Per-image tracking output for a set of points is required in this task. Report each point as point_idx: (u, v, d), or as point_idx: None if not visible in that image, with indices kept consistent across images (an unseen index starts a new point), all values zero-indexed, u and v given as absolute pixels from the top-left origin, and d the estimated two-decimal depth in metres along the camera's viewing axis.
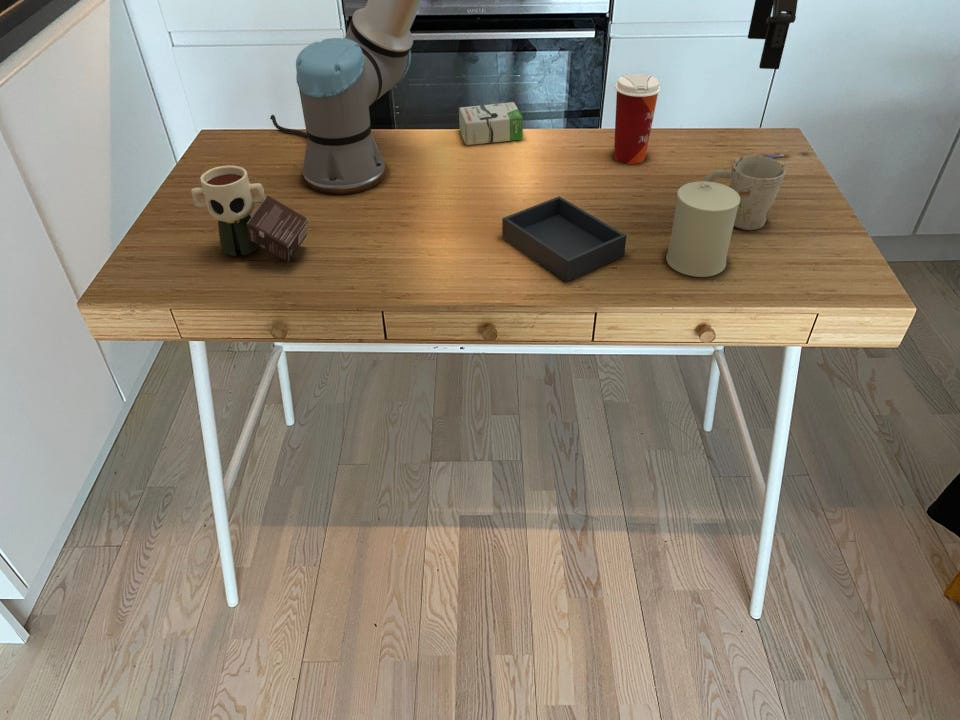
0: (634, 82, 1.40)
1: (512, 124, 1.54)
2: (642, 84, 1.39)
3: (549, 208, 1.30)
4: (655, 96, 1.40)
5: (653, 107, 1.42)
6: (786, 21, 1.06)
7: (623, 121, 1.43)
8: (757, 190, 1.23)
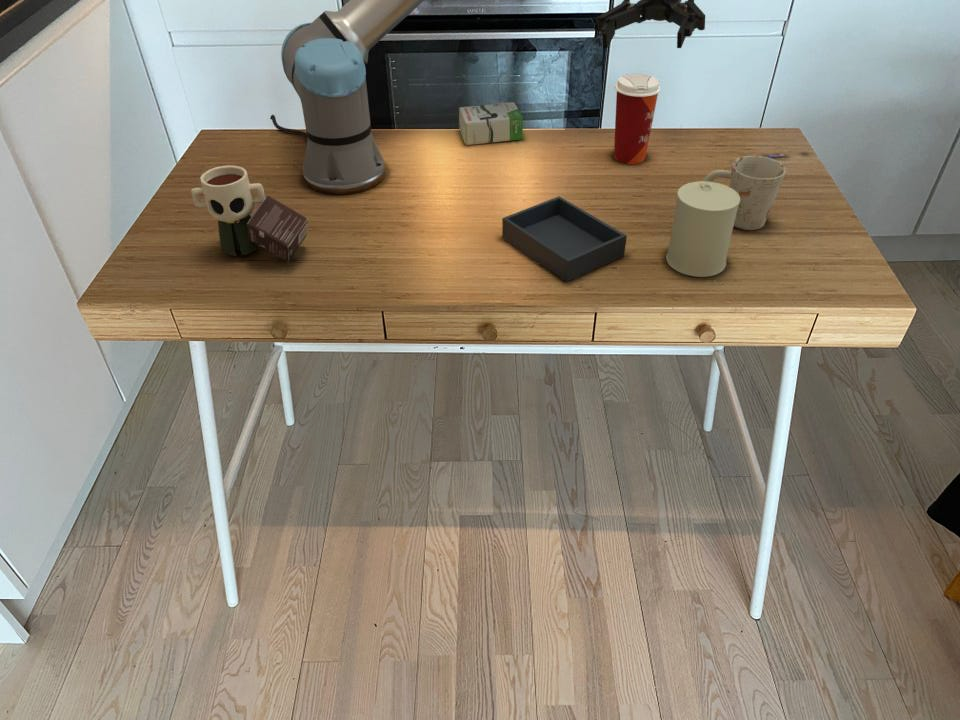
0: (634, 82, 1.40)
1: (512, 124, 1.54)
2: (642, 84, 1.39)
3: (549, 208, 1.30)
4: (655, 96, 1.40)
5: (653, 107, 1.42)
6: (703, 24, 1.42)
7: (623, 121, 1.43)
8: (757, 190, 1.23)
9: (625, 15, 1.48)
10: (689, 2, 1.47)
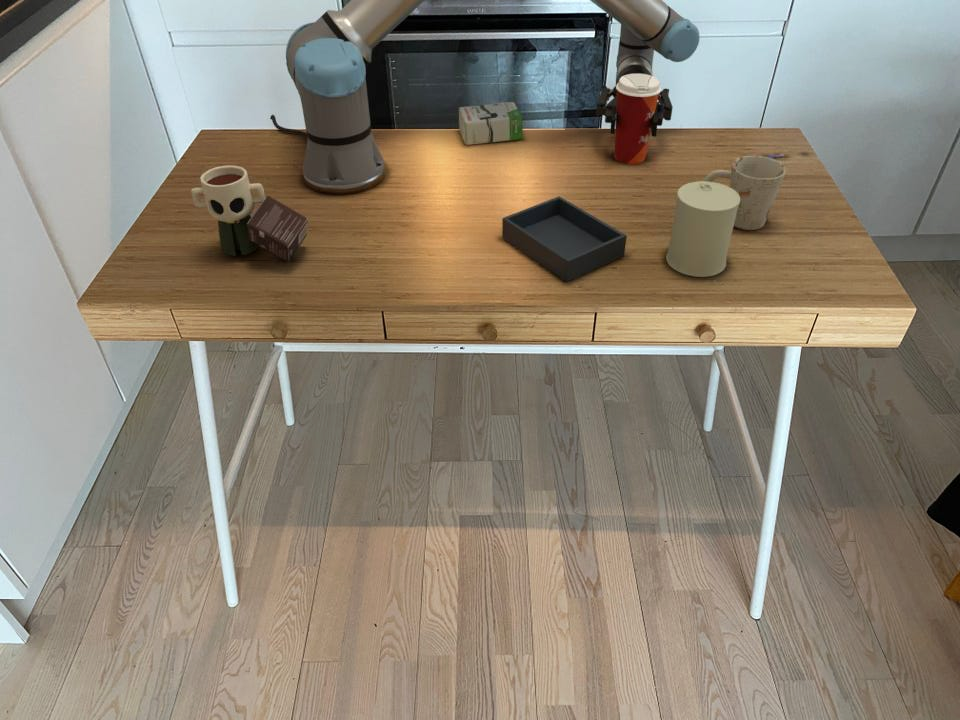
0: (635, 82, 1.40)
1: (512, 123, 1.54)
2: (643, 84, 1.39)
3: (549, 208, 1.30)
4: (656, 96, 1.40)
5: (654, 107, 1.42)
6: (670, 114, 1.46)
7: (623, 121, 1.43)
8: (757, 190, 1.23)
9: None
10: (663, 92, 1.51)
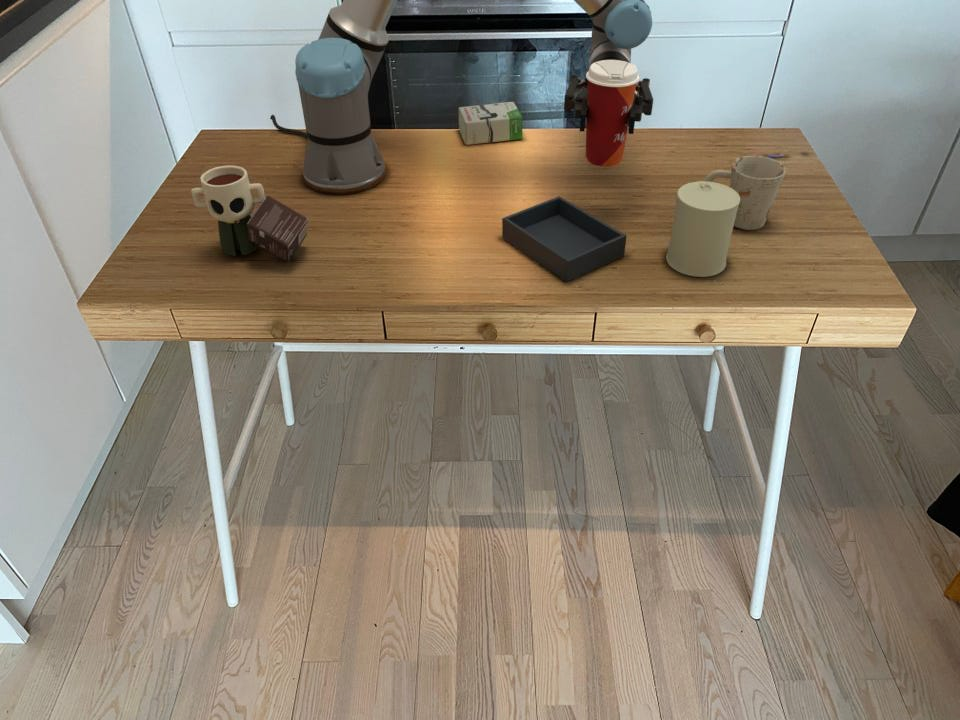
0: (608, 70, 1.18)
1: (512, 123, 1.54)
2: (617, 72, 1.17)
3: (549, 208, 1.30)
4: (633, 86, 1.18)
5: (631, 100, 1.20)
6: (651, 108, 1.24)
7: (595, 116, 1.21)
8: (757, 190, 1.23)
9: None
10: (643, 83, 1.29)
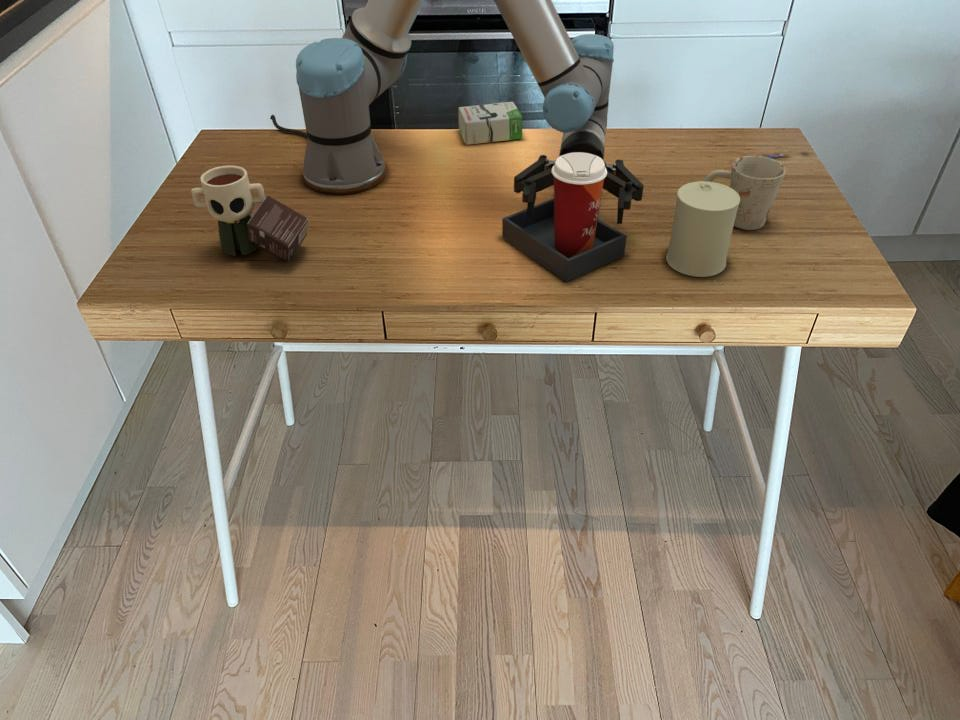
0: (574, 165, 1.13)
1: (511, 123, 1.54)
2: (583, 168, 1.12)
3: (549, 208, 1.30)
4: (600, 182, 1.13)
5: (598, 195, 1.15)
6: (641, 194, 1.20)
7: (562, 211, 1.16)
8: (757, 190, 1.23)
9: (546, 176, 1.23)
10: (618, 165, 1.25)
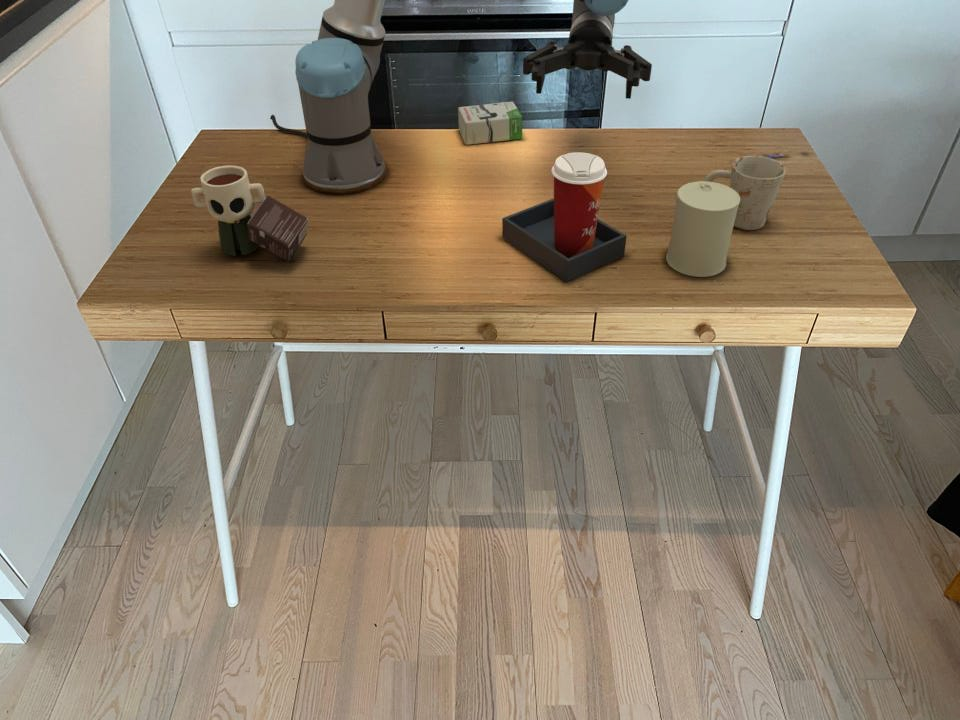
0: (574, 165, 1.13)
1: (511, 123, 1.54)
2: (583, 168, 1.12)
3: (549, 208, 1.30)
4: (600, 182, 1.13)
5: (598, 195, 1.15)
6: (649, 74, 1.21)
7: (562, 211, 1.16)
8: (757, 190, 1.23)
9: (555, 58, 1.24)
10: (627, 50, 1.26)
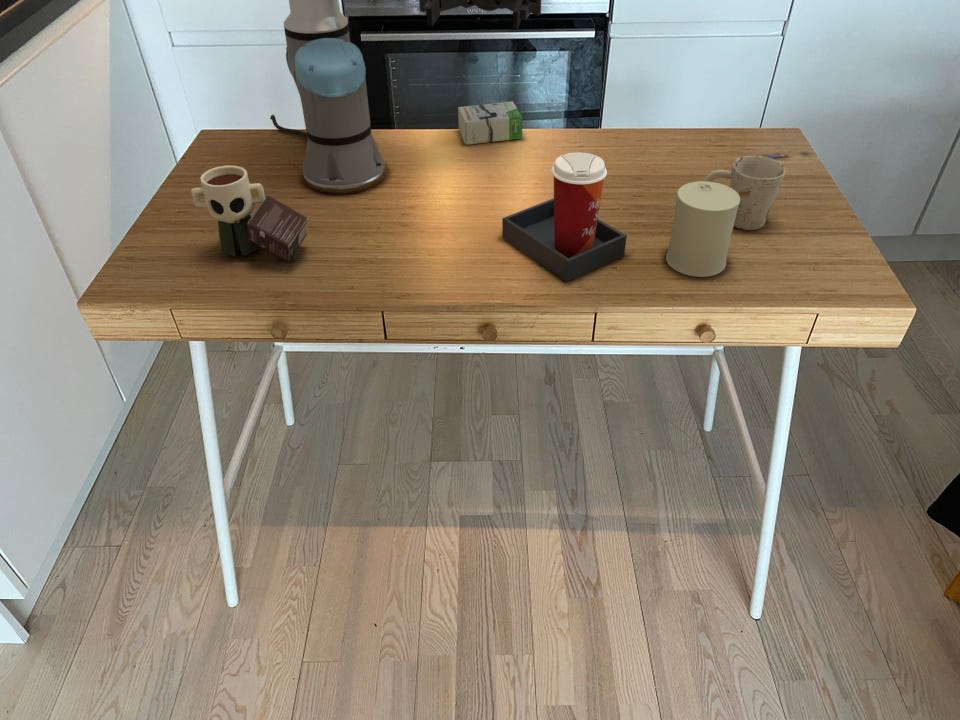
0: (574, 165, 1.13)
1: (511, 123, 1.54)
2: (583, 168, 1.12)
3: (549, 208, 1.30)
4: (600, 182, 1.13)
5: (598, 195, 1.15)
6: (539, 8, 1.25)
7: (562, 211, 1.16)
8: (757, 190, 1.23)
9: None
10: None
